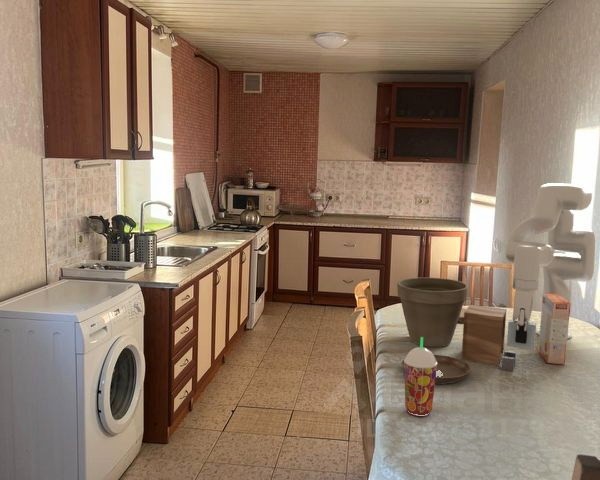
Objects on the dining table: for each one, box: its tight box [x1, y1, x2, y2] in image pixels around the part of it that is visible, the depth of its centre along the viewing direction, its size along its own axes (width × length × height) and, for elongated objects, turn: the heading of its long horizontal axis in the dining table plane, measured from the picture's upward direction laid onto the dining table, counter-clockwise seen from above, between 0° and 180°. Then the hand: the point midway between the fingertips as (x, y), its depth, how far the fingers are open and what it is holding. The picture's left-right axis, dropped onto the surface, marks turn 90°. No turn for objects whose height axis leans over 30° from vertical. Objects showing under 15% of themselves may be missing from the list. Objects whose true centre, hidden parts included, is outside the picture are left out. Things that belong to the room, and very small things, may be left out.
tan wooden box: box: [461, 304, 507, 366], centre depth 189 cm, size 12×12×16 cm
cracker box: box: [537, 293, 571, 365], centre depth 189 cm, size 14×6×21 cm, turn 168°
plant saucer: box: [400, 354, 471, 385], centre depth 173 cm, size 21×21×3 cm
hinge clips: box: [498, 350, 517, 372], centre depth 181 cm, size 8×4×4 cm, turn 155°
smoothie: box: [403, 337, 438, 415], centre depth 144 cm, size 8×8×20 cm
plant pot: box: [396, 277, 469, 348], centre depth 205 cm, size 25×25×22 cm
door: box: [506, 319, 537, 351], centre depth 178 cm, size 3×8×8 cm, turn 65°
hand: (521, 340), depth 178 cm, fingers closed on door, 3 cm apart
